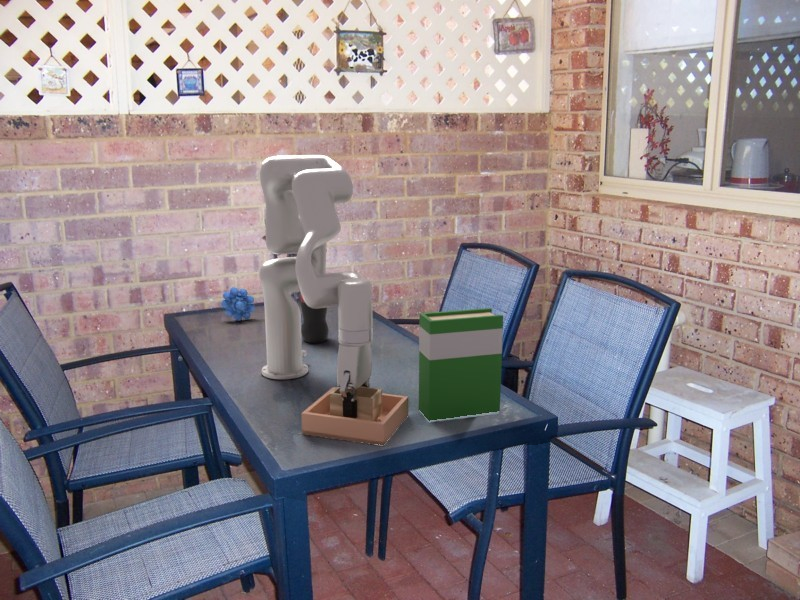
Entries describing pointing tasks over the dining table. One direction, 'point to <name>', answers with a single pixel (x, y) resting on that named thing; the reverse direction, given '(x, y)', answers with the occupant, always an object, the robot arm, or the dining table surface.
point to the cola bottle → (313, 323)
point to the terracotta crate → (355, 421)
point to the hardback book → (459, 363)
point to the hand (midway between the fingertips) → (356, 410)
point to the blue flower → (238, 304)
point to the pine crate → (359, 403)
